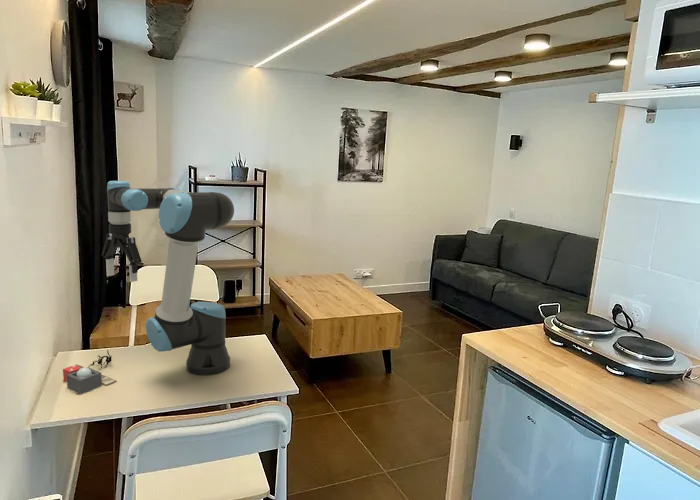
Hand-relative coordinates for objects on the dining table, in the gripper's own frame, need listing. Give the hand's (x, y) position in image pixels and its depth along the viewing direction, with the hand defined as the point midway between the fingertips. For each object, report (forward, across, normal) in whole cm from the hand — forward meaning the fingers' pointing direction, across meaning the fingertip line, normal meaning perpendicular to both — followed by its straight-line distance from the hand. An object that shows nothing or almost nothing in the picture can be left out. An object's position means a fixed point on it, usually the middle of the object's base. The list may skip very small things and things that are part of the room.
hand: (121, 278), depth 183 cm
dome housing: (+27, -20, +29) cm, 44 cm away
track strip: (+27, -14, +23) cm, 38 cm away
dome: (+25, -20, +29) cm, 43 cm away
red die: (+27, -13, +28) cm, 41 cm away
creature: (+27, -11, +17) cm, 34 cm away
